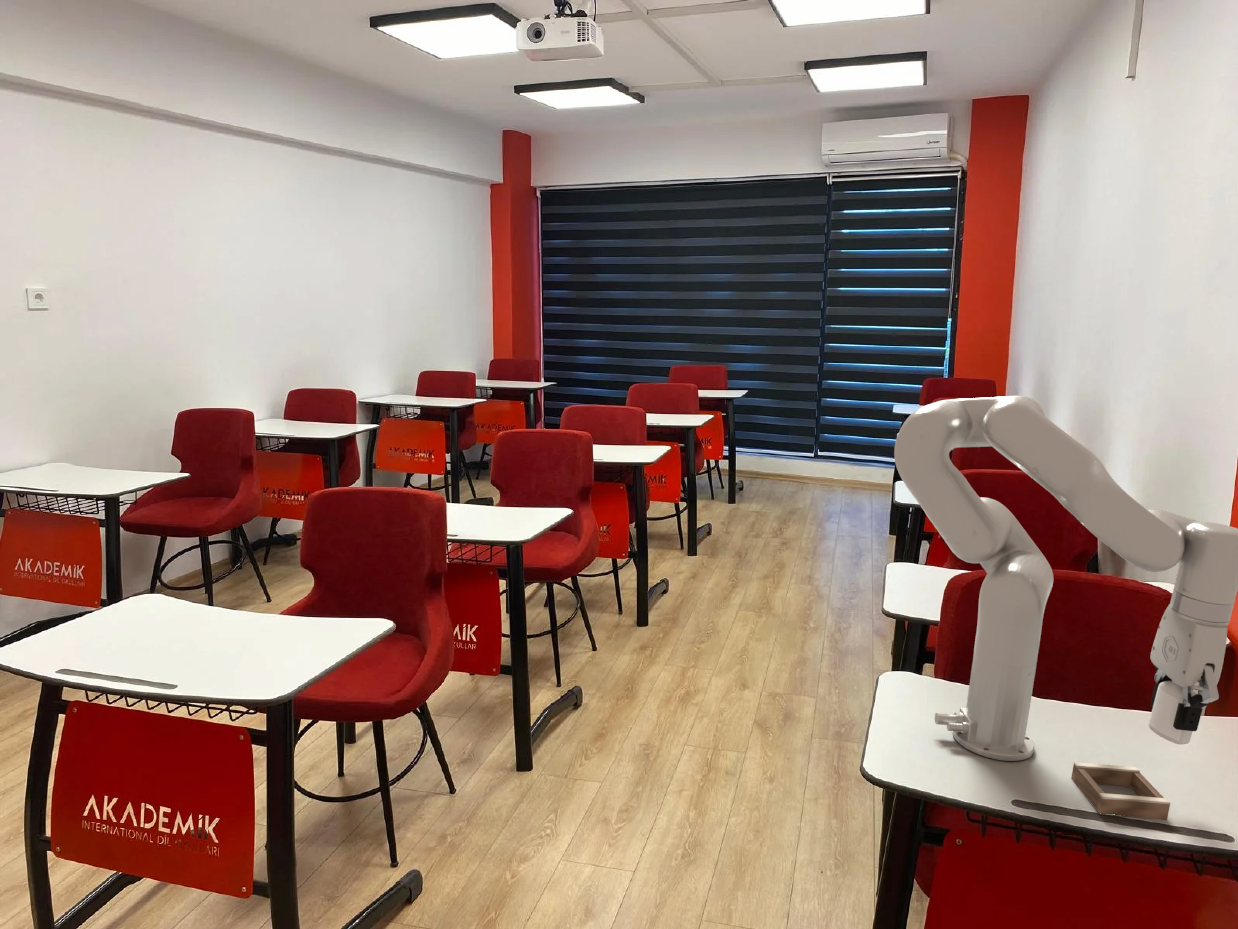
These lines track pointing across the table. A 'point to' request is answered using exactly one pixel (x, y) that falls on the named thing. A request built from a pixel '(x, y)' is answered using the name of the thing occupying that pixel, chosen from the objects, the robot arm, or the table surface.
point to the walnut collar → (1124, 805)
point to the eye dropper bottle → (1168, 713)
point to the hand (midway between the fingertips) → (1172, 717)
